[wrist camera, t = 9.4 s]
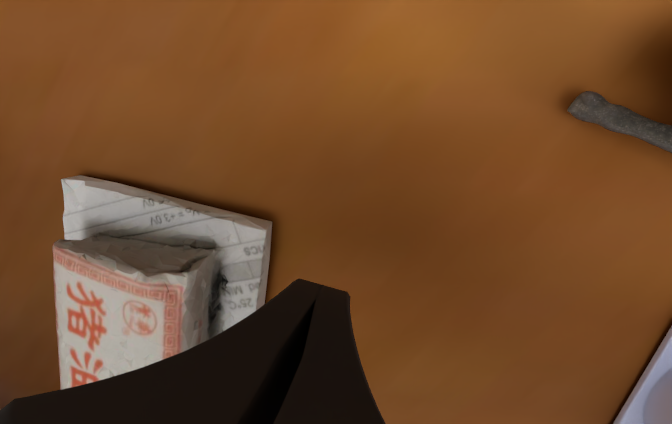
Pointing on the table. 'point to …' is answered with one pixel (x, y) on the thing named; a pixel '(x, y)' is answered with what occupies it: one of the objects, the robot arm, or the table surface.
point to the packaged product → (148, 277)
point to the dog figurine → (620, 119)
